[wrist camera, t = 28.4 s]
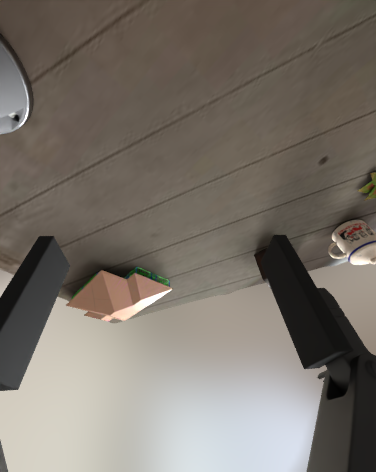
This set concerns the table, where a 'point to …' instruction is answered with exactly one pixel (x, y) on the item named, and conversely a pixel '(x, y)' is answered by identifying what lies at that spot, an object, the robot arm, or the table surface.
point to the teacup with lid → (355, 242)
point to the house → (118, 295)
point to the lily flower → (370, 187)
